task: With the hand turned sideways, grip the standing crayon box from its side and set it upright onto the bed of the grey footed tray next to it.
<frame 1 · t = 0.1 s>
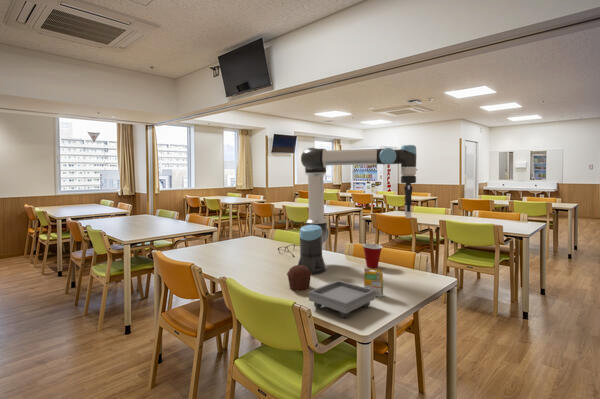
hand: (407, 216, 179), 28 cm above the table, tool pointing down, fingers open, 13 cm apart
crayon box: (373, 295, 145), on the table
eyeglasses: (294, 253, 221), on the table
grey footed tray: (342, 307, 133), on the table
muffin: (299, 288, 156), on the table
plastic cup: (372, 267, 186), on the table
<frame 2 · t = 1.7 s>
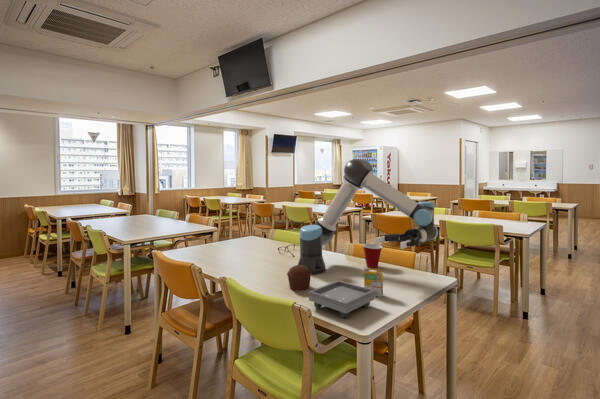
hand: (387, 243, 149), 20 cm above the table, tool horizontal, fingers open, 13 cm apart
nothing on the table moved.
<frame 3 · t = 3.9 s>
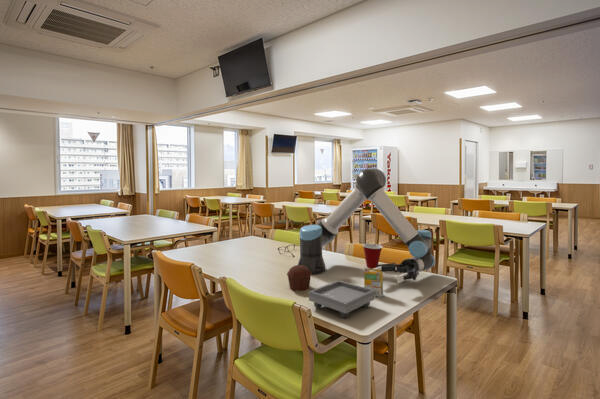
hand: (384, 275, 148), 7 cm above the table, tool horizontal, fingers open, 13 cm apart
nothing on the table moved.
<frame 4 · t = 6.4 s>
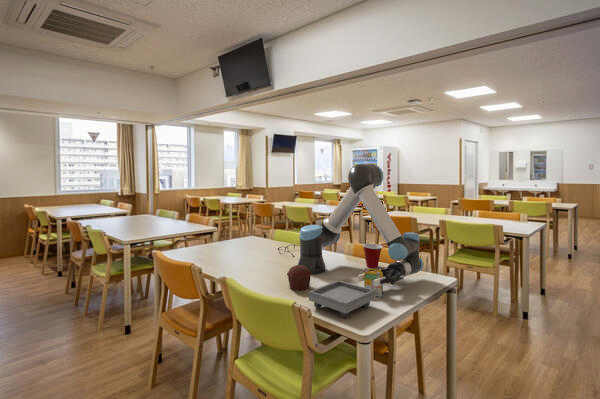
hand: (366, 281, 141), 7 cm above the table, tool horizontal, fingers closed on crayon box, 8 cm apart
crayon box: (373, 295, 145), on the table, touching gripper
everything else where it was.
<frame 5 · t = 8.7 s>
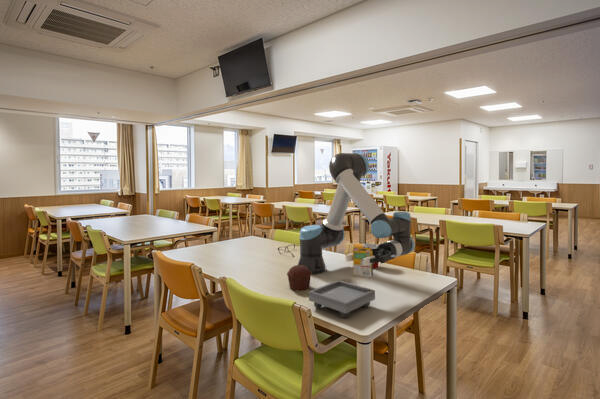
hand: (355, 260, 133), 18 cm above the table, tool horizontal, fingers closed on crayon box, 8 cm apart
crayon box: (363, 275, 137), point 11 cm above the table, touching gripper
everything else where it was.
when the fingers open (13 cm above the table, at t = 11.0 s): crayon box stays where it is, resting on grey footed tray.
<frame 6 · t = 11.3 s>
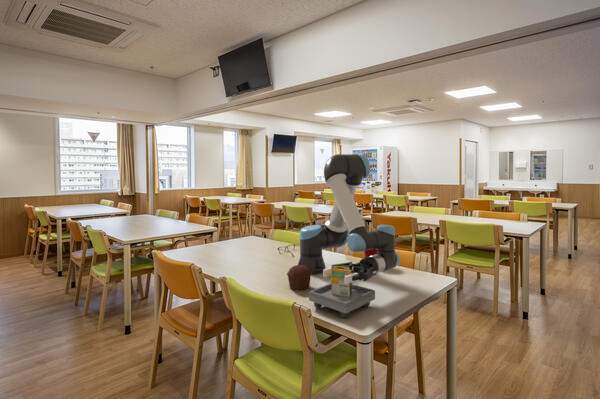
hand: (334, 276, 129), 13 cm above the table, tool horizontal, fingers open, 10 cm apart
crayon box: (341, 295, 132), point 5 cm above the table, touching grey footed tray
everything else where it was.
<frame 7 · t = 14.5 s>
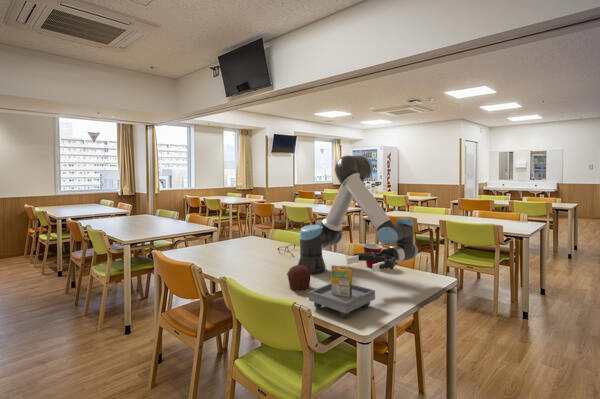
hand: (359, 264, 139), 14 cm above the table, tool horizontal, fingers open, 13 cm apart
nothing on the table moved.
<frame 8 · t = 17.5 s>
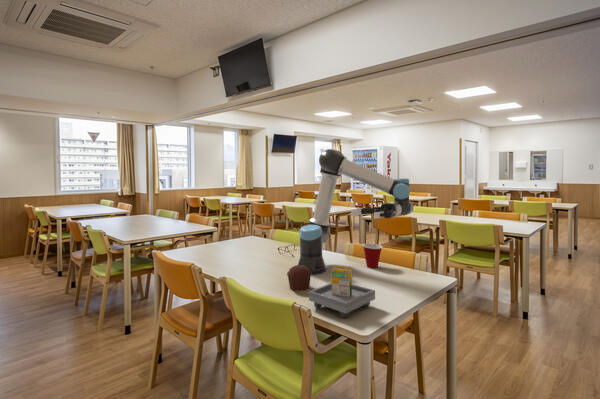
hand: (362, 214, 159), 32 cm above the table, tool horizontal, fingers open, 13 cm apart
nothing on the table moved.
at the end: crayon box inside the target area on the grey footed tray (0.1 cm from its centre), point 4.8 cm above the grey footed tray's base; crayon box tilted 0°; the gripper is holding nothing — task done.
